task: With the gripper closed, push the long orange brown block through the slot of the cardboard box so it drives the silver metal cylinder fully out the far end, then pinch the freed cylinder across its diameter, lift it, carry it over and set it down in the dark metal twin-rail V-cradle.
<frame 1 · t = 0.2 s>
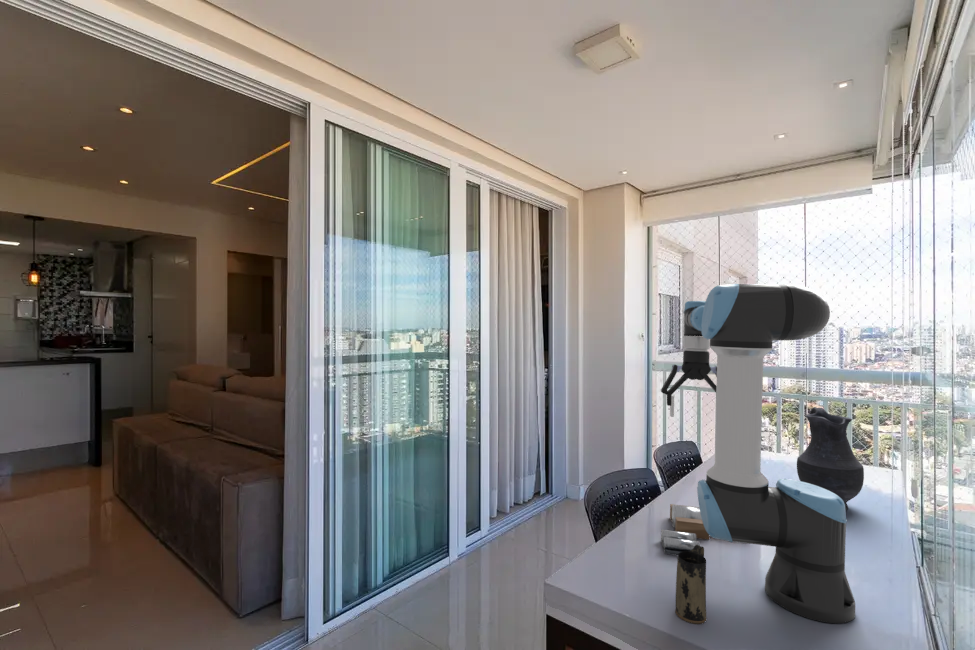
hand: (694, 417, 145), 27 cm above the table, fingers open, 13 cm apart
cardboard box: (688, 528, 127), on the table
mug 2: (692, 613, 89), on the table
pitcher: (825, 503, 149), on the table
silver metal cylinder: (688, 528, 127), on the table
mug: (722, 516, 136), on the table
orange brown block: (729, 533, 125), on the table
v block: (679, 549, 115), on the table
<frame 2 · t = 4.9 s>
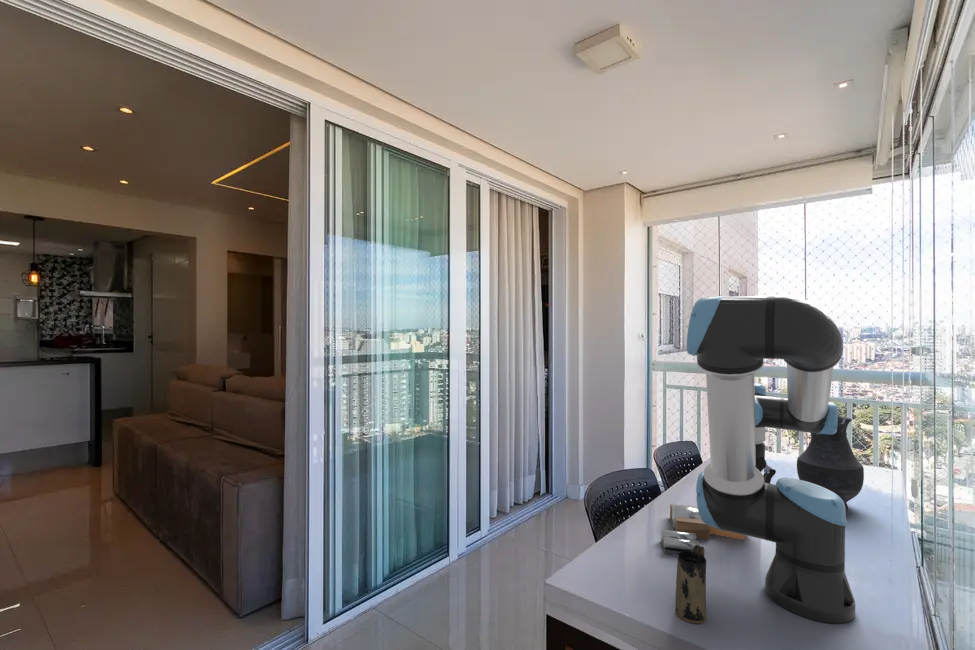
hand: (747, 527, 124), 2 cm above the table, fingers closed
orange brown block: (724, 532, 125), on the table, touching gripper
everything else where it was.
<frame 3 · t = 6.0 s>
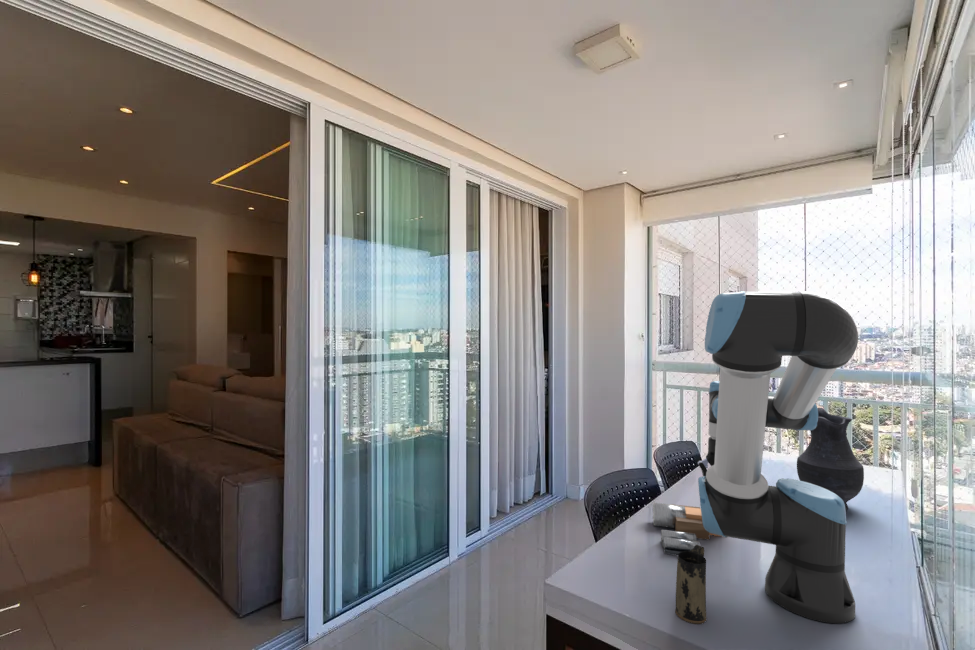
hand: (722, 524, 126), 2 cm above the table, fingers closed
silver metal cylinder: (668, 525, 129), on the table, tilted 10°, touching orange brown block
orange brown block: (701, 530, 126), on the table, touching silver metal cylinder, gripper
everything else where it was.
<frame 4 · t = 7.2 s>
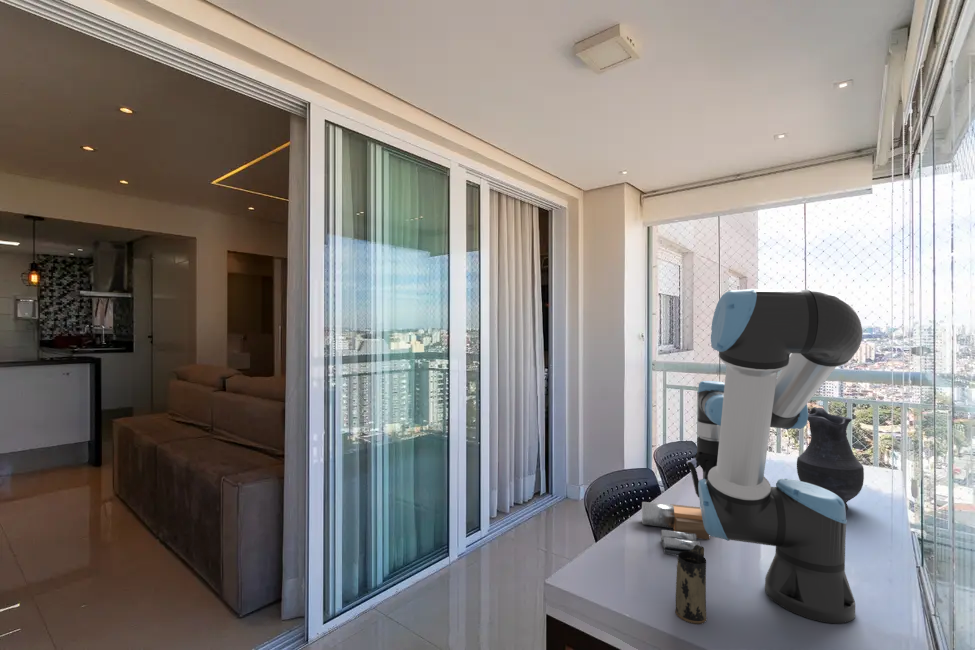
hand: (710, 523, 126), 2 cm above the table, fingers closed
silver metal cylinder: (657, 524, 129), on the table, tilted 10°, touching orange brown block
orange brown block: (690, 529, 127), on the table, touching silver metal cylinder, gripper
everything else where it was.
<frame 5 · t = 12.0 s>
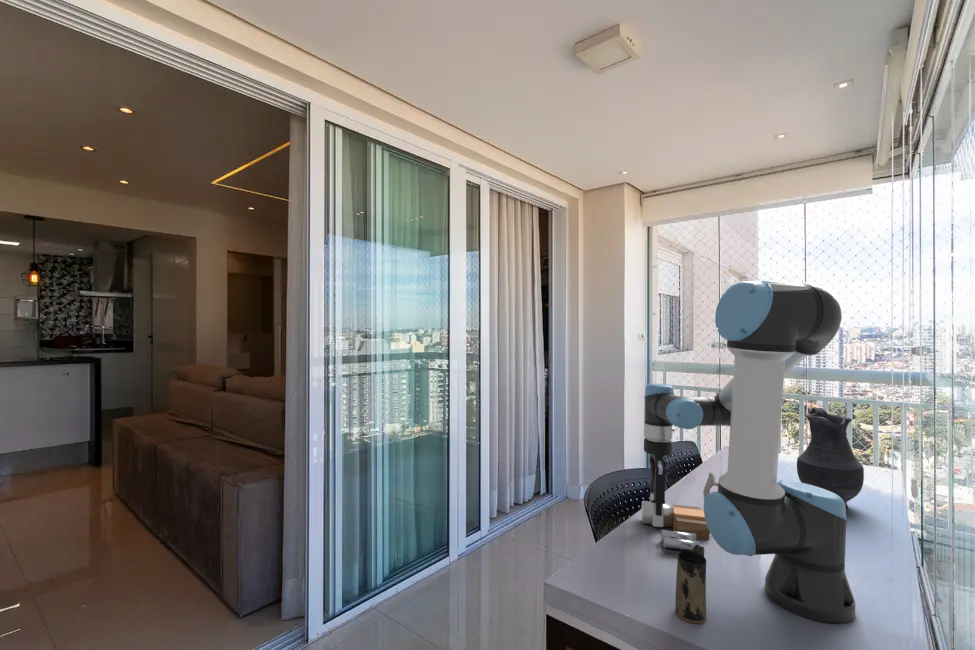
hand: (656, 520, 129), 1 cm above the table, fingers closed on silver metal cylinder, 6 cm apart
silver metal cylinder: (657, 524, 130), on the table, touching gripper
orange brown block: (690, 530, 127), on the table
everything else where it was.
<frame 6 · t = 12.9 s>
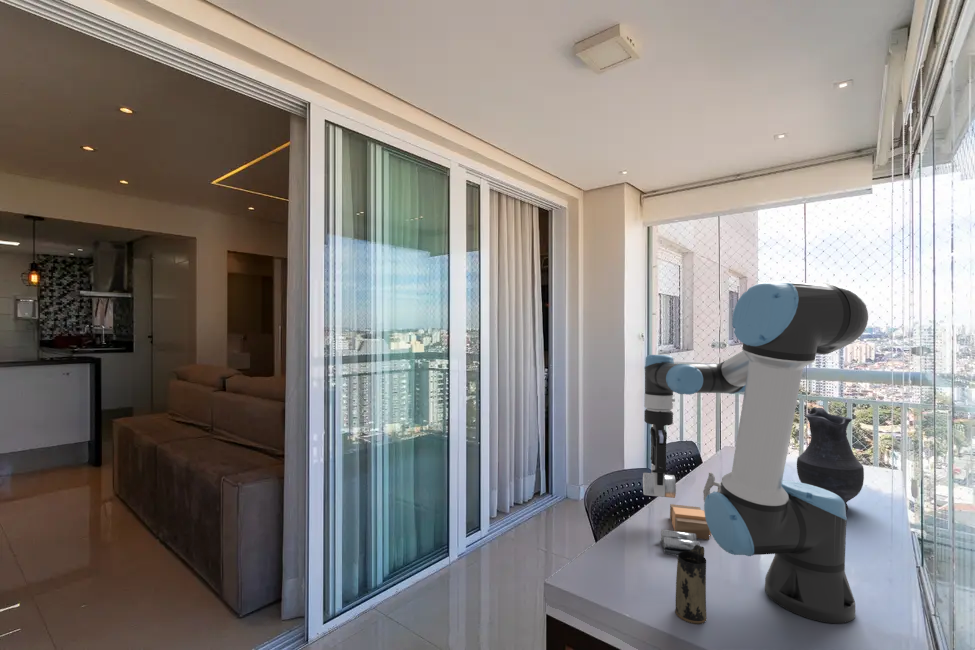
hand: (657, 492, 129), 9 cm above the table, fingers closed on silver metal cylinder, 6 cm apart
silver metal cylinder: (658, 495, 129), point 8 cm above the table, touching gripper
everything else where it was.
when the fingers open (5 cm above the table, at t = 16.0 s): silver metal cylinder drops 2 cm, resting on v block.
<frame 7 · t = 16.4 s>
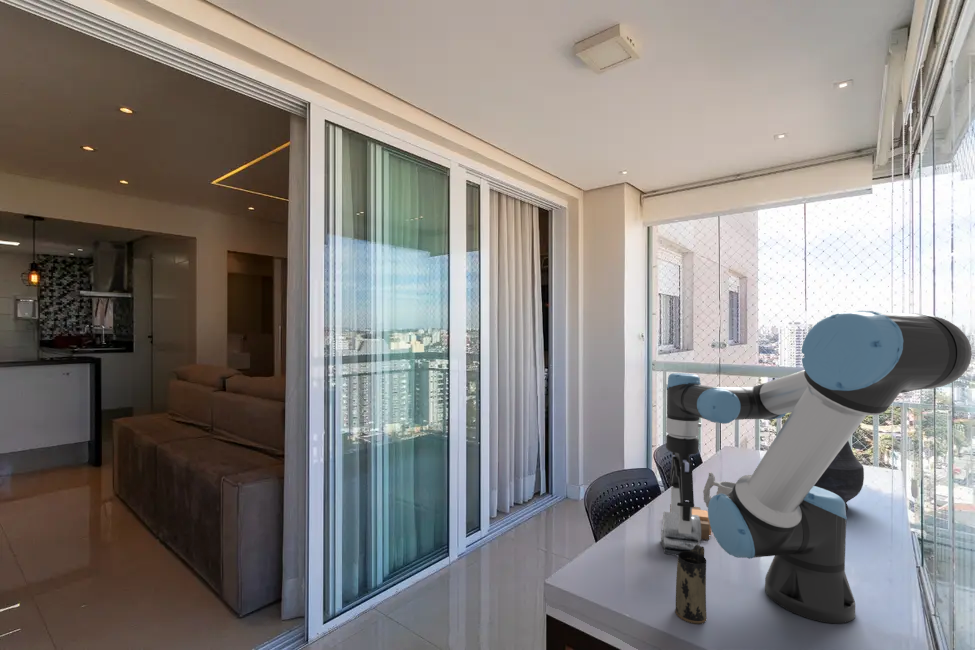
hand: (680, 522, 115), 7 cm above the table, fingers open, 11 cm apart
silver metal cylinder: (681, 538, 115), point 3 cm above the table, touching v block
everything else where it was.
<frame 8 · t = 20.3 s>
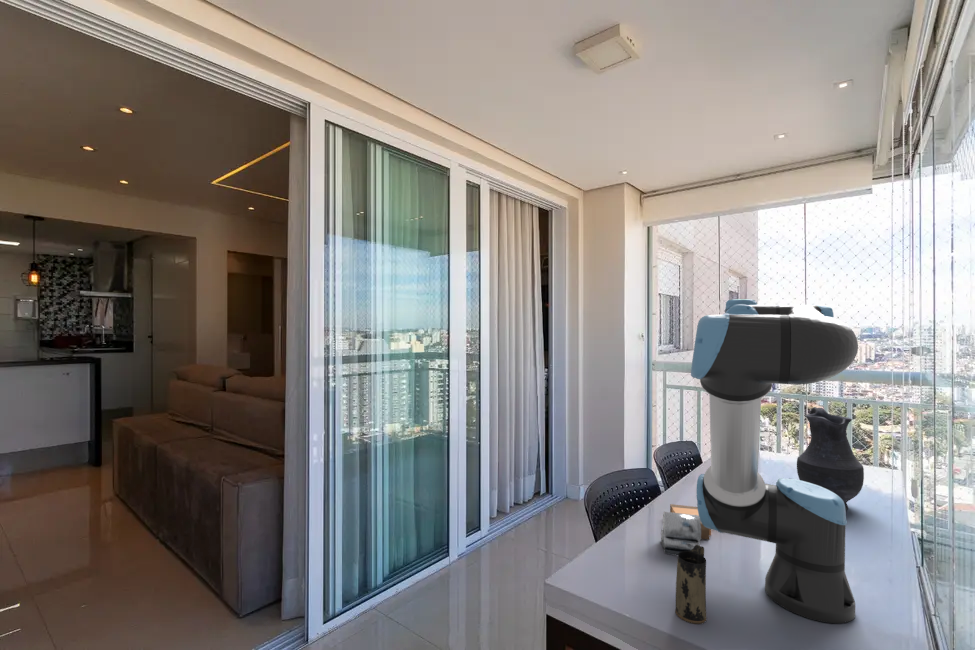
hand: (738, 436, 123), 27 cm above the table, fingers open, 13 cm apart
nothing on the table moved.
at the end: silver metal cylinder inside the target area on the v block (0.2 cm from its centre), point 2.8 cm above the v block's base; the gripper is holding nothing; silver metal cylinder touching v block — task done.
